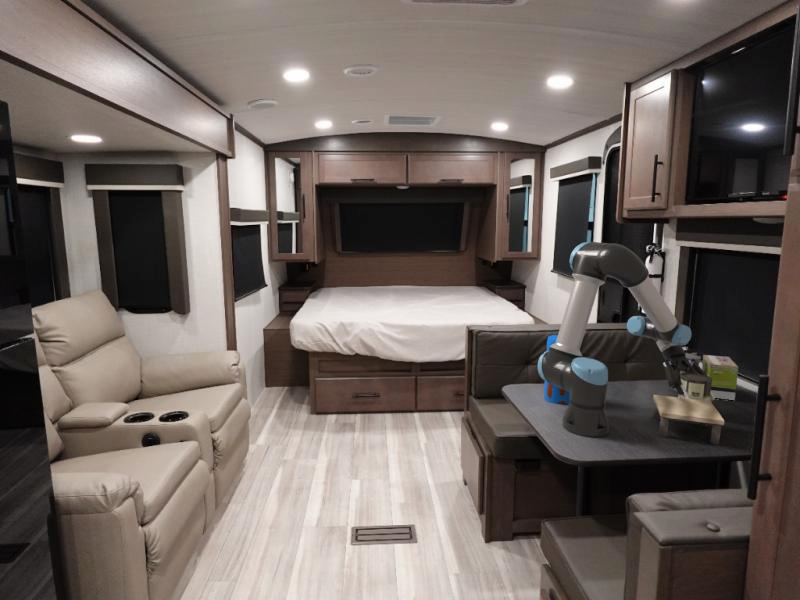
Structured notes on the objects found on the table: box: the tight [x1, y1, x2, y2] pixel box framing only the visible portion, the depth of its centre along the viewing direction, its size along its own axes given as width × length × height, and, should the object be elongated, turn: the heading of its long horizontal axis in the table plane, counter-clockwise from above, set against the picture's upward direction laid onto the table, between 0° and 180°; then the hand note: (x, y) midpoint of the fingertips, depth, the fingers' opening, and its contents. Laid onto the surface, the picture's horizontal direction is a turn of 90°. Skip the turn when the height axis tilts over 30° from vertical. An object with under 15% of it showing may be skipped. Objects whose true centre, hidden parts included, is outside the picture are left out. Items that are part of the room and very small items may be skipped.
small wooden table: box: [652, 394, 725, 446], centre depth 170 cm, size 18×18×8 cm
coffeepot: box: [673, 348, 702, 392], centre depth 210 cm, size 15×9×18 cm, turn 125°
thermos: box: [543, 334, 570, 405], centre depth 196 cm, size 11×11×25 cm
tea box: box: [701, 354, 739, 401], centre depth 206 cm, size 15×10×15 cm
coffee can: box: [677, 373, 712, 401], centre depth 185 cm, size 10×10×14 cm
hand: (700, 401), depth 183 cm, fingers closed on coffee can, 10 cm apart
